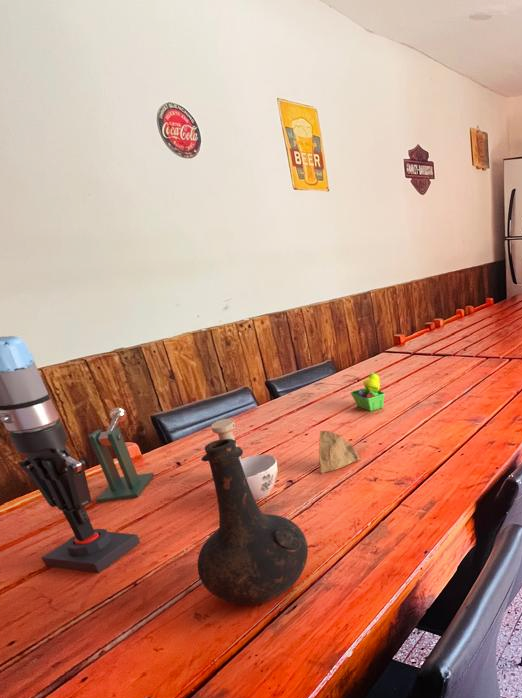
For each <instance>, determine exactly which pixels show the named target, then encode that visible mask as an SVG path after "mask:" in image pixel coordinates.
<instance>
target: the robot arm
mask: <svg viewBox="0 0 522 698" xmlns="http://www.w3.org/2000/svg"><path fill="white" fill-rule="evenodd" d="M59 418H60V416H59V414H58V411H57V409H56V407H55V405H54V403H53V400H52V399H51V397H50V395H49V392H48V390H47V388H46V385H45V383H44V381H43V378H42V376H41V374H40V371H39V368H38V367H37V365H36V362H35V357H34V356H33V354H32V353H31V351H30V349H29V348H28V345H27V343H26V342H25V340H23V338H21V337H19V336H15V335H8V336H0V421H1V422H2V423H3V425H4V427H5V429H6V430H7V431H9V434H8V436H9V438H10V440H11V443H12V444H13V446H14V449H15V450H16V451H17V453H20V454H25V457H26V459H24V460H22V461H19V462H18V465H19V467H20V468H21V469H22V470H23V471H24V472H25V473H26V474H27V475H28V477H29V478H30V479H31V481H32V482H33V483H34V485H35V486H36V488H37V489H38V491H39V492H40V493H41V495H42V496H43V498H44V499H45V500H46V503H48V505H49V506H50V507H51V508H55V507H57V509H58V510H59V511H62V513H63V515H64V517H65V519H66V521H67V523H68V525H69V526H70V528H71V531H72V532H73V534H74V536H75V537H76V539H77V540H85V539H86V538H88V537H89V536H91V535H93V534H94V533H95V531H94V529H95V528H93V525H92V523H91V519H90V516H89V514H88V512H87V510H86V506H89V504H91V503H92V498H91V492H90V489H89V485H88V484H89V483H88V480H87V475H86V472H85V470H86V461H85V460H83V459H79V460H77V459H74V458H73V457H72V455H71V452H70V451H69V450H68V449H67V447H66V446H65V445H66V443H67V441H68V439H69V438H68V435H67V432H66V430H65V428H64V425H63V423H62V422H61V421H59Z"/></svg>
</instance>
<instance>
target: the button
mask: <svg viewBox="0 0 522 698" xmlns="http://www.w3.org/2000/svg"><path fill="white" fill-rule="evenodd" d="M97 538H99V534H98V533H97V532H95V533H94V534H93V535H91V536H89V537H88V538H86V539H85V540H77V539H75V541H74V542H75V544H76V545H83V544H87V543H90V542H92V541H94V540H96V539H97Z"/></svg>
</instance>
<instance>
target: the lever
mask: <svg viewBox="0 0 522 698" xmlns="http://www.w3.org/2000/svg"><path fill="white" fill-rule="evenodd" d="M109 417H110V419H111V421H110V424H109V426H108V427H107V430H106V431H102V432H101V434H100V436H99V438H98V440H99V442H100V444H101V445H102V447H105V446H108V447H112V445H111V442H110V440H109V437H108V435H107V434H109V433H110V432H111V431H112V430H113V429H114V428H118V424H119V423H121V422H123V421H126V419H127V418H128V413H127V410H125V409H124V408H122V407H114V408H112V409H111V410H110V411H109Z"/></svg>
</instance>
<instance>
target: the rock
mask: <svg viewBox="0 0 522 698" xmlns="http://www.w3.org/2000/svg"><path fill="white" fill-rule="evenodd" d="M318 444H319V445H318V448H319V452H318V453H319V454H318V455H319V456H318V463H319V464H318V465H319V472H320V474H321V475H323V474H324V473H327V472H333V471H336V470H339V469H341V468H344V467H346V466H349V465H351V464H352V463H355V462H358V461H360V460H361V458H360V456H359V454H358V452H357V451H356V449H355V448H354V446H353V445H352V444H350V443H349V442H348V441H347V440H346V439H344V437H342V436H341V435H339V434H338V433H335V432H332V431H330V430H320V432H319V443H318Z"/></svg>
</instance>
